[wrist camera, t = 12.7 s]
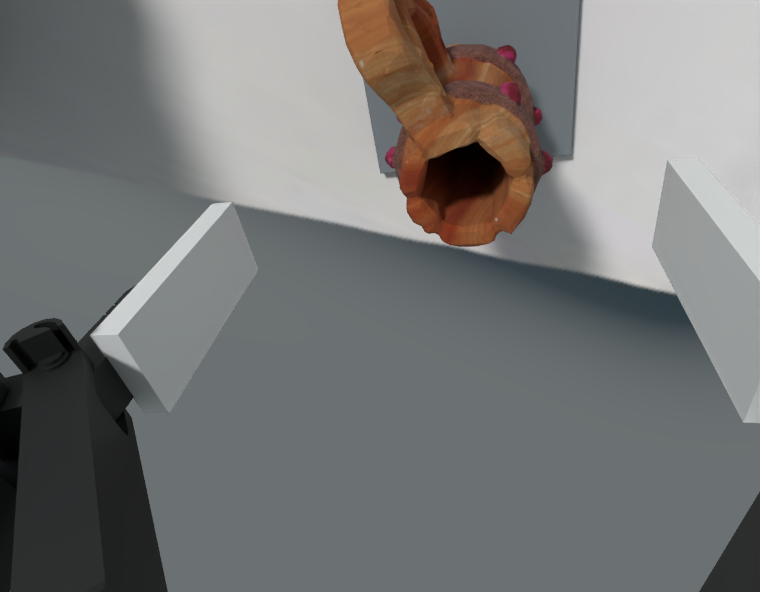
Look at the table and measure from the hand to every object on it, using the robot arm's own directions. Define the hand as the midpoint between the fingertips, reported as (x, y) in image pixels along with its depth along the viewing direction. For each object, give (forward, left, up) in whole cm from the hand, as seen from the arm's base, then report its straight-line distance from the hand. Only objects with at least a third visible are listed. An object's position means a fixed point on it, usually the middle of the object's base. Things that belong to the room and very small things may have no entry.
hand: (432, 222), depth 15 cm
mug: (-1, 0, -22) cm, 22 cm away
